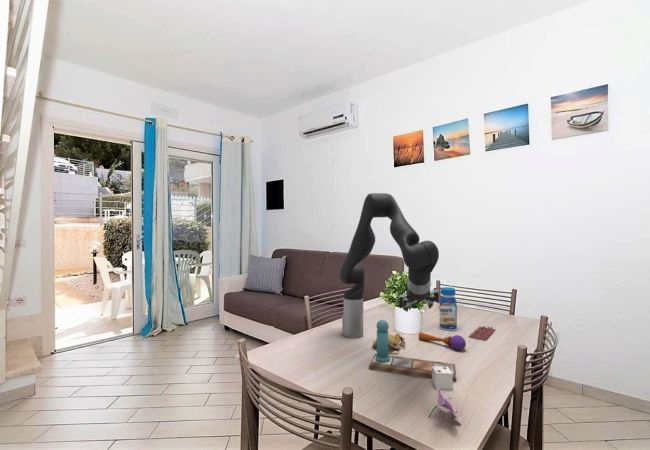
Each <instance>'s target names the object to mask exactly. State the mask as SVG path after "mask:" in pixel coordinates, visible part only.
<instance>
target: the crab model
mask: <svg viewBox="0 0 650 450" xmlns="http://www.w3.org/2000/svg"><path fill="white" fill-rule="evenodd" d="M372 344H373V346H374V347H377V338H376V339H375V340H372ZM401 345H402V346H403V347H404V346H406V341H405V338H404V337H403V336H401V335H400V333H398V332H397V333H395V334H394V335H392V334H388V347H392V348H393V349H397V350H398V351H401V348H402V346H401Z"/></svg>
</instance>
